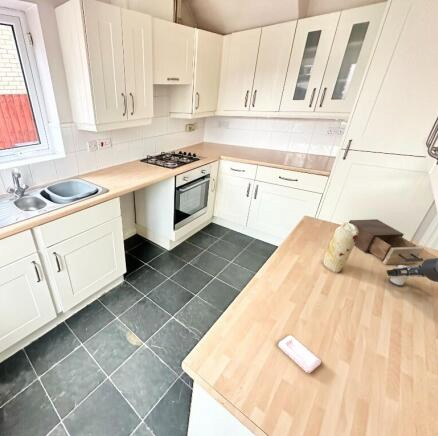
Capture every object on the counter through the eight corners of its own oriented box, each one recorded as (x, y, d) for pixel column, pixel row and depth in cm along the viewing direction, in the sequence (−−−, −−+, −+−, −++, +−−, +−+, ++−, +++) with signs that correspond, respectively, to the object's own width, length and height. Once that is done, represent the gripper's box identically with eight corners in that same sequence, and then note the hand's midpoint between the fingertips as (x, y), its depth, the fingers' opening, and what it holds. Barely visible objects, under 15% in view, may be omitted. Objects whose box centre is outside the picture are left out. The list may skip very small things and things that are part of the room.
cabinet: (393, 251, 109) (404, 234, 104) (364, 252, 109) (373, 235, 104) (368, 235, 121) (377, 219, 116) (342, 236, 120) (349, 220, 116)
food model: (344, 276, 95) (365, 233, 86) (325, 272, 98) (343, 230, 88) (337, 261, 103) (356, 221, 94) (319, 258, 106) (335, 218, 96)
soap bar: (307, 376, 63) (310, 370, 62) (276, 347, 70) (278, 342, 69) (319, 366, 65) (322, 360, 64) (288, 339, 73) (290, 333, 71)
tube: (396, 281, 93) (406, 265, 89) (404, 288, 89) (415, 272, 86) (385, 280, 93) (395, 264, 89) (392, 287, 90) (403, 271, 86)
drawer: (424, 270, 97) (435, 254, 93) (394, 271, 96) (404, 255, 93) (387, 246, 111) (394, 231, 108) (361, 247, 111) (368, 232, 107)
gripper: (467, 256, 76) (409, 262, 92) (422, 257, 76) (373, 263, 92) (477, 280, 74) (416, 282, 90) (431, 282, 73) (379, 283, 90)
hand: (395, 272), depth 91 cm, fingers open, 4 cm apart
